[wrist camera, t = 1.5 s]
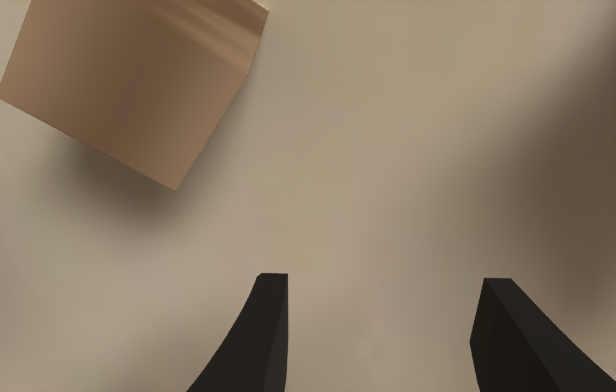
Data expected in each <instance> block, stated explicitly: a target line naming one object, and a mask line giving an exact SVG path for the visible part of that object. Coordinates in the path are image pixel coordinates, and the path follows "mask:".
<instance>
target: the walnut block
mask: <svg viewBox="0 0 616 392" xmlns="http://www.w3.org/2000/svg"><path fill="white" fill-rule="evenodd" d="M268 12H269V8H267V7H265V6H264V5H262V4H261V3H259V2H258V1H256V0H32V1H31V3H30V6H29V9H28V11H27V14H26V17H25V19H24V22H23V25H22V27H21V30H20V33H19V35H18V38H17V41H16V43H15V46H14V49H13V51H12V54H11V57H10V59H9V62H8V65H7V67H6V70H5V73H4V75H3V78H2V81H1V83H0V99H1V100H3V101H5V102H7V103H9V104H10V105H12V106H14V107H16V108H18V109H20V110H22V111H24V112H26V113H27V114H29V115H31V116H33V117H35V118H37V119H39V120H41V121H43V122H45V123H46V124H48V125H50V126H52V127H54V128H56V129H58V130H60V131H62V132H63V133H65V134H67V135H69V136H71V137H73V138H75V139H77V140H79V141H81V142H82V143H84V144H86V145H88V146H90V147H92V148H94V149H96V150H98V151H100V152H101V153H103V154H105V155H107V156H109V157H111V158H113V159H115V160H117V161H118V162H120V163H122V164H124V165H126V166H128V167H130V168H132V169H134V170H136V171H137V172H139V173H141V174H143V175H145V176H147V177H149V178H151V179H153V180H155V181H156V182H158V183H160V184H162V185H164V186H166V187H168V188H170V189H172V190H173V191H175V192H176V190H177V189H178V187H179V185H180V184H181V182H182V180H183V179H184V177H185V176H186V174H187V172H188V171H189V169H190V168H191V166H192V164H193V163H194V161H195V159H196V158H197V156H198V155H199V153H200V151H201V150H202V148H203V147H204V145H205V143H206V142H207V140H208V138H209V137H210V135H211V134H212V132H213V130H214V129H215V127H216V126H217V124H218V122H219V121H220V119H221V117H222V116H223V114H224V113H225V111H226V109H227V108H228V106H229V105H230V103H231V101H232V100H233V98H234V96H235V95H236V93H237V92H238V90H239V88H240V87H241V85H242V84H243V82H244V80H245V79H246V77H247V75H248V73H249V70H250V67H251V64H252V61H253V58H254V55H255V52H256V49H257V46H258V42H259V39H260V36H261V33H262V30H263V27H264V24H265V21H266V18H267V15H268Z"/></svg>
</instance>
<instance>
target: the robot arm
mask: <svg viewBox="0 0 616 392" xmlns="http://www.w3.org/2000/svg"><path fill="white" fill-rule="evenodd" d="M470 347H471V352H472V358H473V363H474V368H475V373H476V377H477V382H478V386H479V389H480V392H616V381H615V380H613V379H612V378H611V377H610V376H609V375H608V374H607V373H606V372H604V371H603V370H602V369H601V368H600V367H599V366H598V365H597V364H595V363H594V362H593V361H592V360H591V359H590V358H589V357H588V356H587V355H586V354H584V353H583V352H582V351H581V350H580V349H579V348H578V347H577V346H576V345H575V344H574V343H573V342H572V341H571V340H570V339H569V338H568V337H567V336H566V335H565V334H564V333H563V332H562V331H561V330H560V329H559V328H558V327H557V326H556V325H555V324H554V323H553V322H552V321H551V320H550V319H549V318H548V317H547V316H546V315H545V314H544V313H543V312H542V311H541V310H540V309H539V308H538V307H537V305H536V304H535V303H534V302H533V301H532V300H531V299H530V298H529V297H528V296H527V295H526V294H525V293H524V292H523V291H522V290H521V289H520V287H519V286H518V285H517V284H516V283H515V282H514V281H513V280H512V279H507V278H484V281H483V286H482V290H481V294H480V299H479V303H478V307H477V312H476V316H475V320H474V325H473V329H472V333H471V338H470ZM287 355H288V274H278V273H261V274H260V275H259V276H257V278H256V281H255V284H254V286H253V288H252V291H251V293H250V295H249V297H248V299H247V301H246V303H245V305H244V307H243V309H242V311H241V312H240V314H239V316H238V318H237V319H236V321H235V323H234V324H233V326H232V328H231V329H230V331H229V333H228V335H227V336H226V338H225V339H224V341H223V342H222V344H221V345H220V347H219V348H218V350H217V351H216V353H215V354H214V356H213V357H212V358H211V360H210V361H209V363H208V364H207V366H206V367H205V368H204V370H203V371H202V372H201V374H200V375H199V376H198V378H197V379H196V380H195V382H194V383H193V384H192V385H191V387H190V388H189V389H188V390H187V391H186V392H284V390H285V383H286V374H287Z"/></svg>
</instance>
